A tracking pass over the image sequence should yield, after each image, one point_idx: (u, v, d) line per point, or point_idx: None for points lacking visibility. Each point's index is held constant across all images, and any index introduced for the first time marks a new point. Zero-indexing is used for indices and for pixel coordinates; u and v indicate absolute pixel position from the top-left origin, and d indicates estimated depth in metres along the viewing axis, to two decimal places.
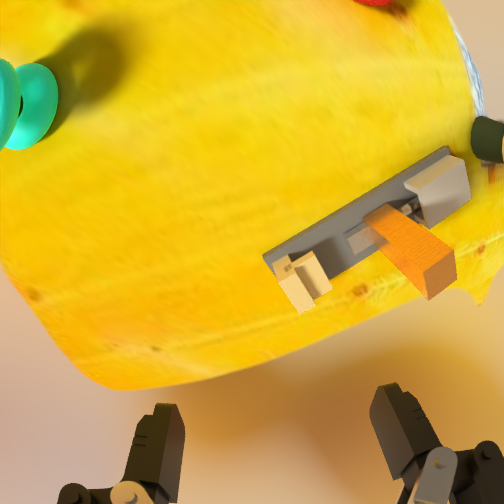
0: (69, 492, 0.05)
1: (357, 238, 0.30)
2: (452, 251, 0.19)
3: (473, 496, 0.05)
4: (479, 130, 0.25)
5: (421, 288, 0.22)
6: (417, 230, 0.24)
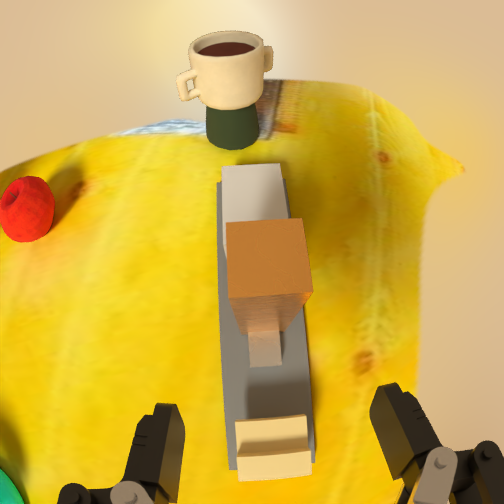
0: (69, 492, 0.05)
1: (257, 353, 0.21)
2: (227, 225, 0.13)
3: (473, 496, 0.05)
4: (213, 135, 0.30)
5: (292, 299, 0.13)
6: None
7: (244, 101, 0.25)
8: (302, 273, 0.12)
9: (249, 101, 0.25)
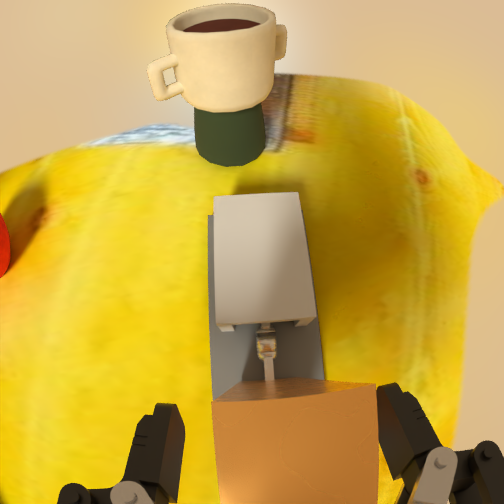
0: (68, 492, 0.05)
1: None
2: (216, 408, 0.05)
3: (473, 496, 0.05)
4: (203, 147, 0.22)
5: None
6: None
7: (247, 100, 0.17)
8: (363, 491, 0.04)
9: (253, 99, 0.17)
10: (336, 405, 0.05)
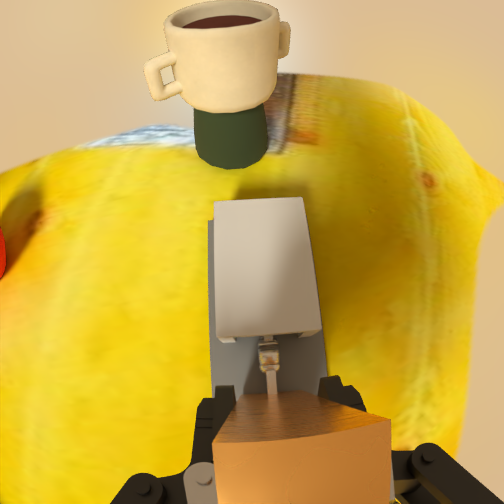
0: (139, 482, 0.06)
1: None
2: (217, 449, 0.04)
3: (427, 493, 0.06)
4: (203, 149, 0.22)
5: None
6: None
7: (249, 100, 0.16)
8: None
9: (255, 99, 0.16)
10: (348, 444, 0.04)
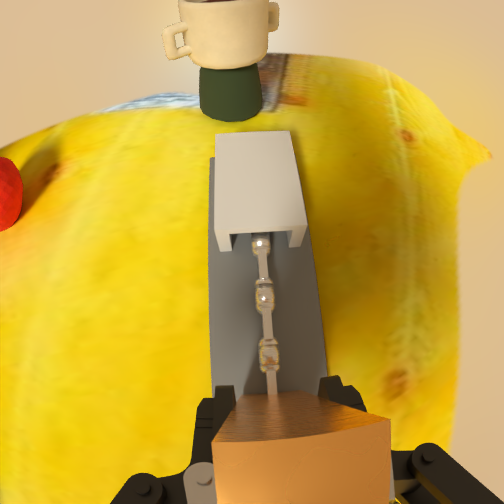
0: (139, 482, 0.06)
1: None
2: (217, 448, 0.04)
3: (427, 493, 0.06)
4: (207, 104, 0.24)
5: None
6: None
7: (245, 58, 0.19)
8: None
9: (250, 58, 0.19)
10: (347, 443, 0.04)
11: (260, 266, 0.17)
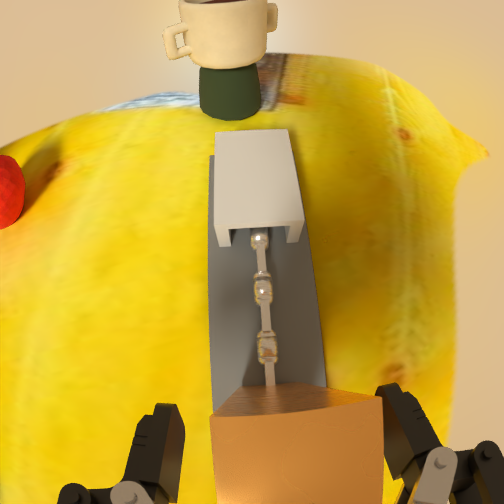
0: (69, 492, 0.05)
1: None
2: (215, 423, 0.05)
3: (473, 496, 0.05)
4: (207, 103, 0.24)
5: None
6: None
7: (244, 58, 0.19)
8: None
9: (249, 58, 0.19)
10: (341, 420, 0.05)
11: (258, 260, 0.18)
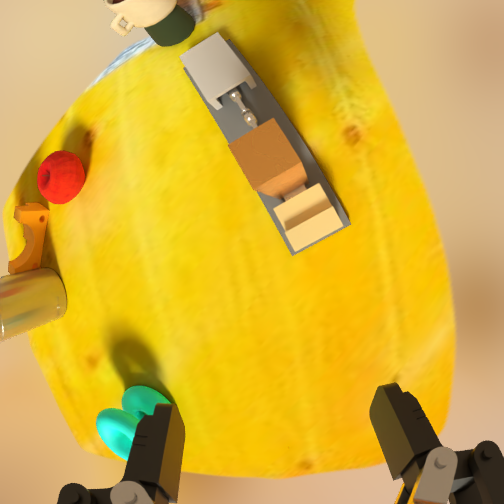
0: (68, 492, 0.05)
1: None
2: (229, 146, 0.18)
3: (473, 496, 0.05)
4: (161, 41, 0.29)
5: (293, 170, 0.18)
6: None
7: (167, 9, 0.23)
8: (289, 153, 0.17)
9: (170, 7, 0.23)
10: (263, 128, 0.17)
11: (239, 104, 0.28)
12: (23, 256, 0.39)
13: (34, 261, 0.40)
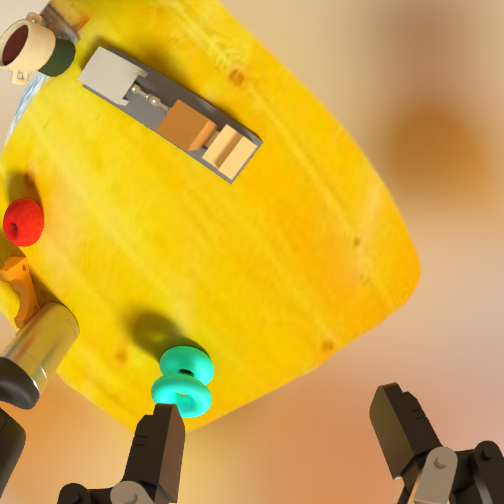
0: (68, 492, 0.05)
1: None
2: (157, 130, 0.23)
3: (473, 496, 0.05)
4: (53, 73, 0.28)
5: (206, 126, 0.24)
6: None
7: (51, 47, 0.22)
8: (199, 117, 0.23)
9: (53, 44, 0.22)
10: (174, 109, 0.22)
11: (141, 94, 0.31)
12: (23, 307, 0.41)
13: (33, 306, 0.43)
